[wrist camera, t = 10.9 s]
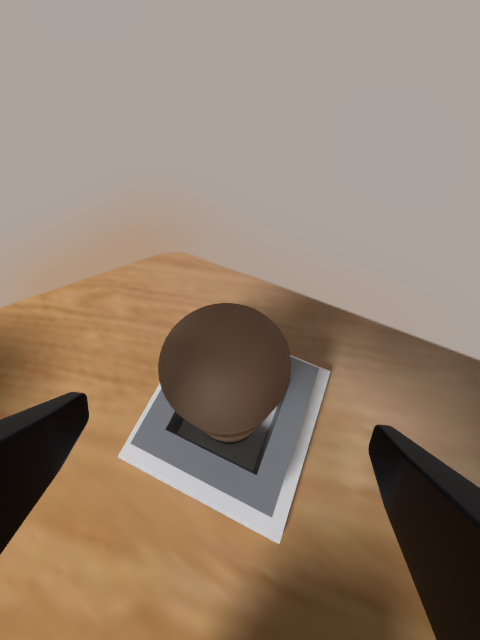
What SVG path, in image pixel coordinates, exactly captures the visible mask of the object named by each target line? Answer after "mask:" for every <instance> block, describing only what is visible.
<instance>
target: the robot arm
mask: <svg viewBox="0 0 480 640" xmlns="http://www.w3.org/2000/svg"><path fill="white" fill-rule="evenodd" d="M88 419H89V411H88V402H87V396H86V394H84V393H79V392H70V393H67V394H65V395H62V396H60V397H57V398H54V399H52V400H49V401H47V402H44V403H42V404H39V405H37V406H34V407H32V408H29V409H27V410H24V411H21V412H19V413H16V414H14V415H11V416H9V417H6V418H4V419H1V420H0V554H1V553H2V551H3V550H4V549H5V547H6V546H7V544H8V543H9V541H10V540H11V539H12V537H13V536H14V534H15V533H16V532H17V530H18V529H19V527H20V526H21V524H22V523H23V522H24V520H25V519H26V517H27V516H28V514H29V513H30V512H31V510H32V509H33V507H34V506H35V505H36V503H37V502H38V500H39V499H40V497H41V496H42V495H43V493H44V492H45V490H46V489H47V487H48V486H49V485H50V483H51V482H52V480H53V479H54V478H55V476H56V475H57V473H58V472H59V470H60V469H61V467H62V465H63V464H64V462H65V460H66V459H67V457H68V455H69V453H70V452H71V450H72V448H73V446H74V445H75V443H76V441H77V440H78V438H79V436H80V434H81V433H82V431H83V429H84V427H85V426H86V424H87V422H88ZM369 455H370V459H371V462H372V466H373V469H374V473H375V476H376V480H377V483H378V487H379V490H380V494H381V497H382V501H383V504H384V507H385V510H386V512H387V515H388V518H389V520H390V523H391V525H392V528H393V530H394V533H395V535H396V538H397V541H398V543H399V546H400V548H401V551H402V553H403V556H404V558H405V561H406V563H407V566H408V569H409V571H410V574H411V576H412V579H413V581H414V584H415V586H416V589H417V591H418V594H419V597H420V599H421V602H422V604H423V607H424V609H425V612H426V614H427V617H428V619H429V622H430V624H431V627H432V630H433V632H434V635H435V637H436V640H480V488H479V487H477V486H476V485H475V484H473V483H472V482H470V481H469V480H467V479H466V478H465V477H463V476H462V475H460V474H459V473H457V472H456V471H455V470H453V469H452V468H450V467H449V466H447V465H446V464H444V463H443V462H442V461H440V460H439V459H437V458H436V457H434V456H433V455H432V454H430V453H429V452H427V451H426V450H424V449H423V448H422V447H420V446H419V445H417V444H416V443H414V442H413V441H412V440H410V439H409V438H407V437H406V436H404V435H403V434H402V433H400V432H399V431H397V430H396V429H394V428H393V427H391V426H388V425H376V426H375V427H374V430H373V433H372V437H371V440H370V443H369Z"/></svg>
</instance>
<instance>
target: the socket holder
mask: <svg viewBox="0 0 480 640" xmlns="http://www.w3.org/2000/svg"><path fill="white" fill-rule="evenodd" d="M290 357H291V375H290V380H289V384H288V387H287V390H286V392H285V394H284V396H283V398H282V400H281V401H280V403H279V404H278V405H277V407H276V408H275V409H274V410H273V411H272V412H271V413H270V415H269V416H268V417H267V418H266V419H265V420H264V421H263V422H262V424H261V425H260V426H259V427H258V428H257V429H256V430H255V431H254V432H253V434H252V435H251V436H250V437H248V438H247V439H245V440H244V441H242V442H239V443H235V444H226V443H222V442H219V441H217V440H216V439H214V438H212V437H211V436H209V435H208V434H206V433H205V432H203V431H202V430H200V429H199V428H197V427H195V426H194V425H192V424H191V423H189V422H188V421H186V420H185V419H183V418H182V417H181V416H180V415H179V414H178V413H176V412H175V410H174V409H173V408H172V407H171V406H170V404H169V403H168V401H167V399H166V398H165V396H164V393H163V391H162V388H161V385H160V384H159V386H158V387H157V389H156V391H155V393H154V394H153V396H152V398H151V400H150V401H149V403H148V405H147V407H146V408H145V410H144V412H143V414H142V415H141V417H140V419H139V421H138V422H137V424H136V426H135V428H134V429H133V431H132V433H131V434H130V436H129V438H128V440H127V441H126V443H125V445H124V447H123V448H122V450H121V452H120V454H119V455H118V458H120V459H122V460H124V461H126V462H128V463H129V464H131V465H133V466H135V467H137V468H139V469H140V470H142V471H144V472H146V473H148V474H150V475H152V476H153V477H155V478H157V479H159V480H161V481H163V482H165V483H166V484H168V485H170V486H172V487H174V488H176V489H178V490H179V491H181V492H183V493H185V494H187V495H189V496H191V497H192V498H194V499H196V500H198V501H200V502H202V503H204V504H205V505H207V506H209V507H211V508H213V509H215V510H217V511H218V512H220V513H222V514H224V515H226V516H228V517H229V518H231V519H233V520H235V521H237V522H239V523H241V524H242V525H244V526H246V527H248V528H250V529H252V530H254V531H255V532H257V533H259V534H261V535H263V536H265V537H267V538H268V539H270V540H272V541H274V542H276V543H278V544H280V540H281V537H282V533H283V530H284V527H285V523H286V520H287V517H288V513H289V510H290V506H291V503H292V500H293V496H294V493H295V490H296V486H297V483H298V479H299V476H300V473H301V469H302V466H303V463H304V459H305V456H306V452H307V449H308V446H309V442H310V439H311V436H312V432H313V429H314V425H315V422H316V419H317V415H318V412H319V409H320V405H321V402H322V398H323V395H324V392H325V388H326V385H327V382H328V378H329V375H330V371H328V370H326V369H324V368H321V367H319V366H316V365H314V364H311V363H309V362H306V361H304V360H302V359H299V358H297V357H294V356H292V355H290Z"/></svg>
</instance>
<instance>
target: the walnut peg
mask: <svg viewBox="0 0 480 640" xmlns="http://www.w3.org/2000/svg"><path fill="white" fill-rule="evenodd" d="M158 373H159V381H160V385H161V388H162V391H163V393H164V396H165V398H166V399H167V401H168V403H169V404H170V406H171V407H172V408H173V409H174V410H175V412H176V413H178V414H179V415H180V416H181V417H182V418H183V419H185V420H186V421H188V422H189V423H191V424H192V425H194V426H195V427H197V428H199V429H200V430H202V431H203V432H205V433H206V434H208V435H209V436H211V437H212V438H214V439H216V440H217V441H219V442H222V443H226V444H235V443H239V442H242V441H244V440H245V439H247V438H248V437H250V436H251V435H252V434H253V432H254V431H255V430H256V429H257V428H258V427H259V426H260V425H261V424H262V422H263V421H264V420H265V419H266V418H267V417H268V416H269V415H270V413H271V412H272V411H273V410H274V409H275V408H276V407H277V405H278V404H279V403H280V401H281V400H282V398H283V396H284V394H285V392H286V390H287V387H288V384H289V380H290V375H291V357H290V352H289V348H288V346H287V343H286V340H285V338H284V337H283V335H282V333H281V332H280V330H279V329H278V327H277V326H276V325H275V324H274V323H273V322H272V321H271V320H270V319H269V318H268V317H266V316H265V315H263V314H262V313H260V312H258V311H257V310H255V309H252V308H250V307H247V306H243V305H239V304H232V303H220V304H213V305H208V306H205V307H202V308H200V309H197V310H195V311H193V312H192V313H190V314H188V315H187V316H185V317H184V318H183V319H182V320H180V321H179V322H178V323H177V324H176V325H175V326H174V328H173V329H172V330H171V332H170V333H169V335H168V336H167V338H166V340H165V342H164V344H163V346H162V349H161V353H160V357H159V364H158Z"/></svg>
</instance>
